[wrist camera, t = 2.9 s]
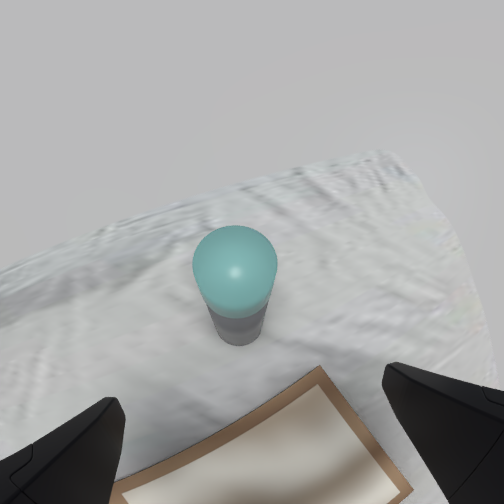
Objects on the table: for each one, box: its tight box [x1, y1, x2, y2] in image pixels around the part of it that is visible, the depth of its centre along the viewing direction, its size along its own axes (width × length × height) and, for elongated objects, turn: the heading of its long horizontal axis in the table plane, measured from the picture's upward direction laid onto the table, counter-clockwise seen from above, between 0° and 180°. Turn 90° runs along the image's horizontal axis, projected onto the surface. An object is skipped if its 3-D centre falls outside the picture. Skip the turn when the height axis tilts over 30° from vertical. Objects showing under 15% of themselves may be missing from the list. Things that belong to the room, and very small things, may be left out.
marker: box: [192, 226, 277, 346], centre depth 18 cm, size 4×4×11 cm
